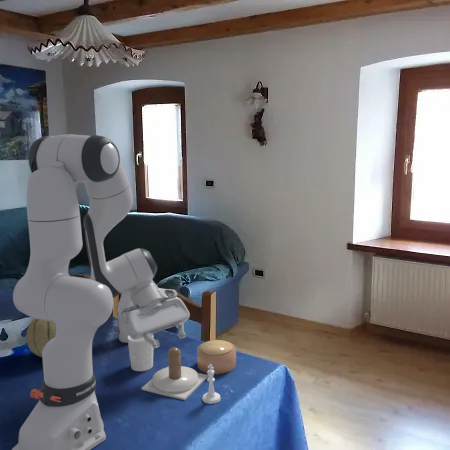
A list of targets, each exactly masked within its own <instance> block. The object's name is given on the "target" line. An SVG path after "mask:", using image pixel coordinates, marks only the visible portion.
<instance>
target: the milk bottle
mask: <svg viewBox="0 0 450 450" xmlns="http://www.w3.org/2000/svg"><path fill="white" fill-rule="evenodd" d="M118 301H119V302H118V303H117V327H118V328H117V330H118V340H119V341H120V342H121V343H125V344H128V336H129V333H128V331H127V328H126V325H125V322H124V321H123V319H122V317H121V313H122V311H123V310H124V309H125V308H130V307H132V306H134V305H133V304H132V302H131V300H130V295H129V293H128V292H127V291H124V292H122V293H121V294H120V298H119V300H118Z"/></svg>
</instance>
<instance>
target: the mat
mask: <svg viewBox="0 0 450 450" xmlns="http://www.w3.org/2000/svg"><path fill="white" fill-rule="evenodd" d="M167 367H168V366H167ZM167 367H165V368H167ZM197 374H198V383H197V384H196V385H195V386H194V387H193V388H191V389H190V390H187V391H184V392H179V393H166V392H161V391H159V390H157V389H156V388H154V386H153V378H152V379H150V380H149V381H147V383H146V384H144V385H143V386H142V387H141V391H144V392H145V391H146V392H149V393H153V394H157V395H162V396H165V397H170V398H174V399H179V400H182V401H186V399H188V398H189V396H191V395H192V394H193V393H194V392H195V391H196V390H197V389H198V388H199V387H200V386H201V385H202V384H203V383H204V381H207V379H208V378H209V376H208V374H205V373H201V372H200V373H199V372H197Z"/></svg>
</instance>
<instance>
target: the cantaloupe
mask: <svg viewBox="0 0 450 450" xmlns="http://www.w3.org/2000/svg"><path fill="white" fill-rule="evenodd" d="M55 336H56V325H55V323H54V322H50V321H44V320H39V319H34V318H32V321H30V323H29V325H28V327H27V330H26V343H27V346H28V348H29V350H30V351H31V353H33V354H34V355H36V356H38V357H40V358H42V351H43V348H44V347H45V345H46V344H47V343H48V342H49V341H50V340H51V339H53V338H54V337H55Z"/></svg>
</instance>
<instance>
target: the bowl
mask: <svg viewBox="0 0 450 450" xmlns="http://www.w3.org/2000/svg"><path fill="white" fill-rule="evenodd" d="M196 352H197V353H196V354H197V355H196V356H197V357H196V359H197V368H198V369H199V370H200V371H201V372H203V373H204V374H205V373H206V374H207V371H208V370H210V368H208V366H210V364H212V367H214V369H212V370H214V371H215V372H214V375H221V374H226V373H229V372H232V371H233V370H234V369H235V368H236V367H237V347H236V345H235V344H233V343H232V342H230V341H226V340H223V339H222V340H221V339H215V340H214V339H211V340H207V341H205V342H203V343H201V344H199V345H198V346H197V348H196Z"/></svg>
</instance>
